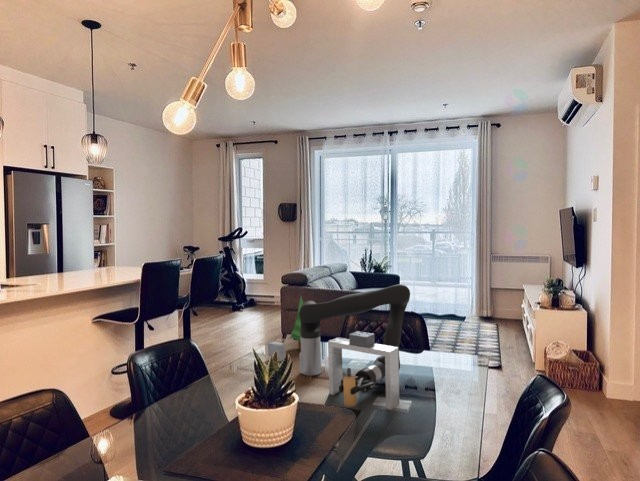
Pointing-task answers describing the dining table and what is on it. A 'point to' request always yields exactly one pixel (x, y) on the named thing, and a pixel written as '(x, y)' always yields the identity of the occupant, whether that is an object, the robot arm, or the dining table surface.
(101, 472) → the dining table surface
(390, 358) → the white arch
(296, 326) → the decorative tree
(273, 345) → the medicine box
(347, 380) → the orange plug
